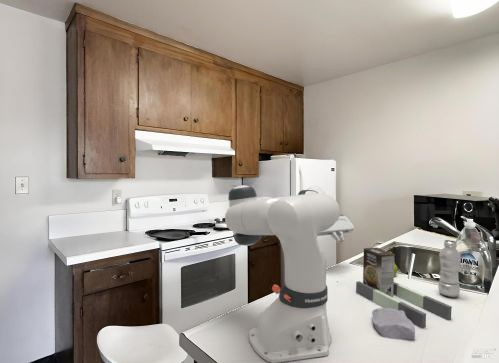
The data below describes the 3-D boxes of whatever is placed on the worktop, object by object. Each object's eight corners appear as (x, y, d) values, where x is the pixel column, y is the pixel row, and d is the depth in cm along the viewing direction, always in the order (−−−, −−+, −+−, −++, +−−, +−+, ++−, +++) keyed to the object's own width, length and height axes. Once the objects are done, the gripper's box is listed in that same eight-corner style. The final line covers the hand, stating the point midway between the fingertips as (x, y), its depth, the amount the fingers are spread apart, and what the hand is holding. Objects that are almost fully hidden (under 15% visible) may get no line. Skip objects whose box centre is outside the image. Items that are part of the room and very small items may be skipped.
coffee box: (361, 289, 108) (362, 248, 107) (375, 287, 110) (376, 246, 109) (379, 300, 99) (380, 254, 98) (394, 298, 101) (395, 253, 100)
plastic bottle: (464, 297, 101) (466, 242, 100) (451, 300, 99) (453, 244, 98) (446, 290, 107) (447, 238, 106) (433, 293, 105) (435, 240, 104)
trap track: (422, 328, 81) (422, 314, 81) (355, 292, 105) (356, 281, 105) (451, 319, 86) (451, 306, 86) (381, 286, 110) (381, 276, 110)
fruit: (394, 279, 119) (394, 250, 118) (379, 274, 123) (379, 247, 123) (399, 275, 123) (400, 248, 122) (385, 271, 127) (386, 245, 127)
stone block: (380, 344, 77) (419, 341, 75) (376, 327, 77) (415, 323, 75) (370, 323, 89) (403, 320, 87) (367, 307, 89) (400, 304, 87)
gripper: (341, 218, 137) (355, 243, 128) (305, 221, 129) (318, 247, 120) (348, 210, 133) (363, 235, 124) (311, 212, 125) (325, 239, 116)
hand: (340, 241), depth 122 cm, fingers closed
